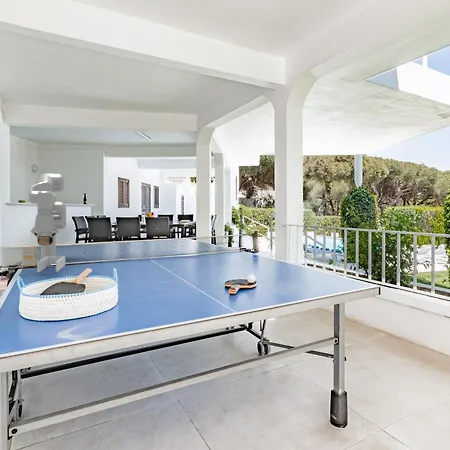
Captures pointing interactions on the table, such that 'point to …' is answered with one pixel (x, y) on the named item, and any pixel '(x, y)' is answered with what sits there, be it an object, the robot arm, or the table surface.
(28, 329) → the table surface
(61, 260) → the frosted channel
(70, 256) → the table surface
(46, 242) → the walnut block
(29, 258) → the supplement box
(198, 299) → the table surface
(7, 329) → the table surface
